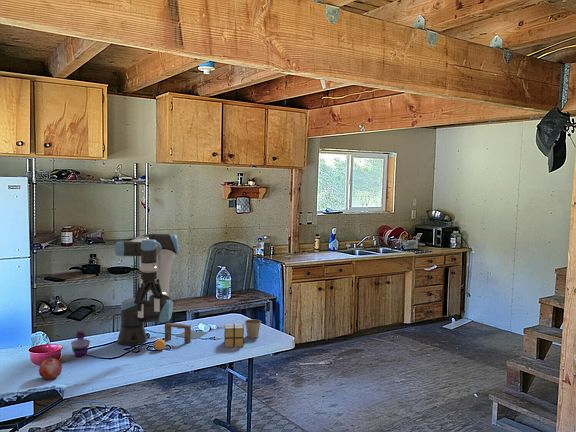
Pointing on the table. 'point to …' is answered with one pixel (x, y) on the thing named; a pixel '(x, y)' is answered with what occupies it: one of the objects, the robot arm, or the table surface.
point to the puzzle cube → (234, 335)
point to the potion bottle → (80, 344)
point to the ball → (159, 344)
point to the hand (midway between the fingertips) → (148, 314)
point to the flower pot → (252, 327)
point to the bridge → (186, 327)
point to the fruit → (50, 368)
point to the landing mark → (193, 334)
